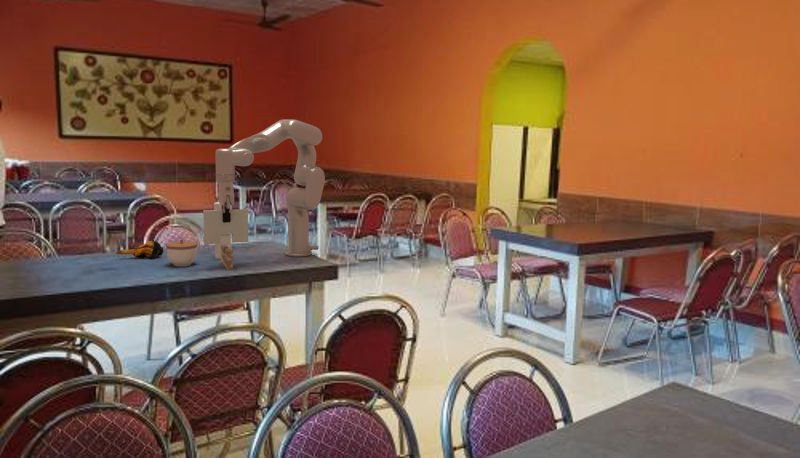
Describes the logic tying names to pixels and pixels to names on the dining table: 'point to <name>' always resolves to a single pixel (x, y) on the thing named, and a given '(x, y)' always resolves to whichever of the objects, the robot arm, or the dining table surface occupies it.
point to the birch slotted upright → (227, 257)
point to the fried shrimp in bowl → (145, 250)
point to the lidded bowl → (181, 252)
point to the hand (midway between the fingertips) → (226, 221)
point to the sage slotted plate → (225, 226)
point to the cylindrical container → (224, 237)
